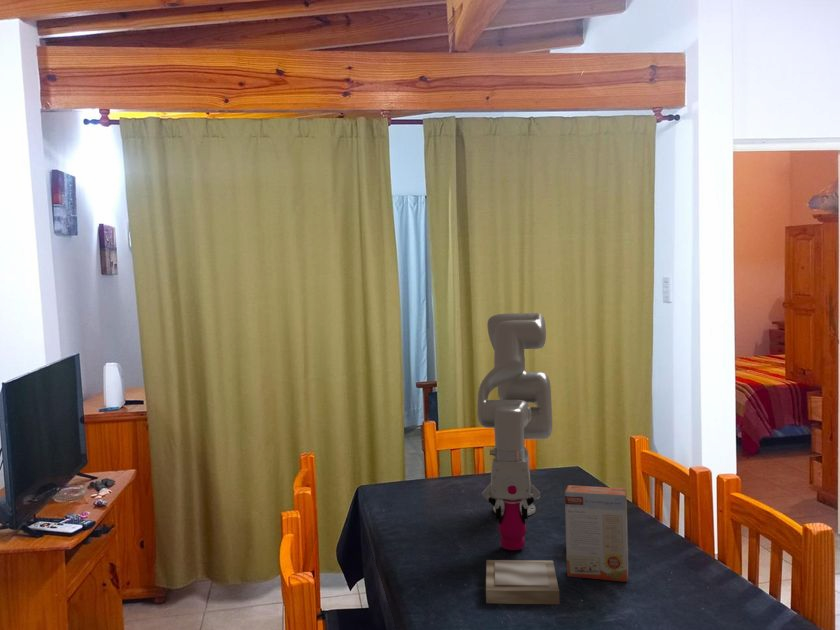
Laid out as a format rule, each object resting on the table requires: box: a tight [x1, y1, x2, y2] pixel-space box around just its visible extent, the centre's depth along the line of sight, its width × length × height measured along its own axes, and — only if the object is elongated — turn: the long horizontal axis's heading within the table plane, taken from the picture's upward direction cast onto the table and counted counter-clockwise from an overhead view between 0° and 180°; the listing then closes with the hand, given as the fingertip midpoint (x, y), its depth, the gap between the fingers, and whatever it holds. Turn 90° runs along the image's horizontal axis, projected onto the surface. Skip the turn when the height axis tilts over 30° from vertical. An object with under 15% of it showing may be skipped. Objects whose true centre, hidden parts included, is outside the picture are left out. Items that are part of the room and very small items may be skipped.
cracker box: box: [564, 484, 629, 583], centre depth 170 cm, size 14×6×21 cm, turn 71°
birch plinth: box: [485, 559, 560, 605], centre depth 165 cm, size 16×16×3 cm
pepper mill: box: [498, 485, 527, 551], centre depth 186 cm, size 7×7×20 cm
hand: (511, 521), depth 187 cm, fingers closed on pepper mill, 5 cm apart
